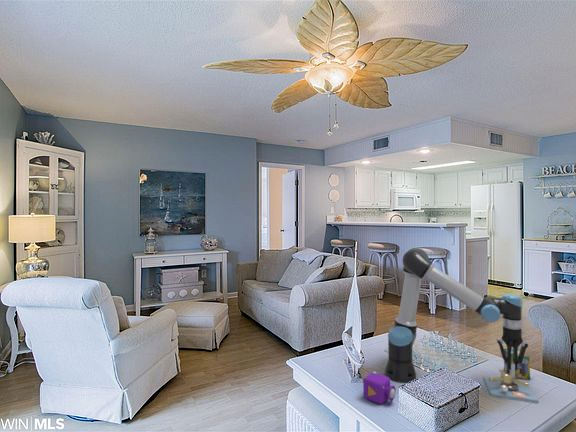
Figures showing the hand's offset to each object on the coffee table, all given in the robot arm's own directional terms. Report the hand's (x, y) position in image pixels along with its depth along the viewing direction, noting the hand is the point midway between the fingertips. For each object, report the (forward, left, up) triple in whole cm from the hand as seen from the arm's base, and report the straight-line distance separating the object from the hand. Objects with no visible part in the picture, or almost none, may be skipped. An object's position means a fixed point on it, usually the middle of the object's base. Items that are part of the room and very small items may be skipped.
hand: (512, 376), depth 161 cm
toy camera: (-59, -33, -5) cm, 68 cm away
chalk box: (+5, +13, -5) cm, 15 cm away
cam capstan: (-4, -6, -3) cm, 7 cm away
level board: (-3, -6, -4) cm, 8 cm away
